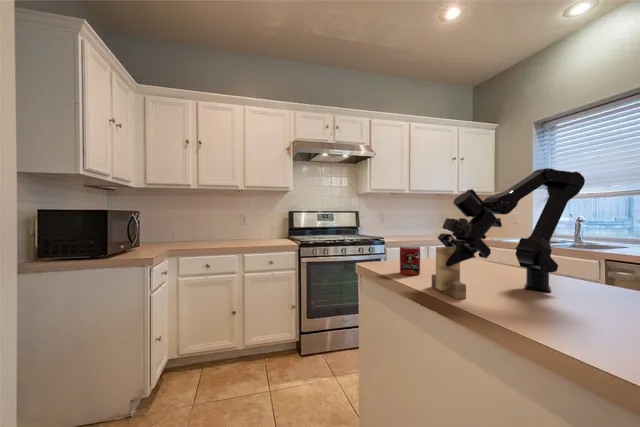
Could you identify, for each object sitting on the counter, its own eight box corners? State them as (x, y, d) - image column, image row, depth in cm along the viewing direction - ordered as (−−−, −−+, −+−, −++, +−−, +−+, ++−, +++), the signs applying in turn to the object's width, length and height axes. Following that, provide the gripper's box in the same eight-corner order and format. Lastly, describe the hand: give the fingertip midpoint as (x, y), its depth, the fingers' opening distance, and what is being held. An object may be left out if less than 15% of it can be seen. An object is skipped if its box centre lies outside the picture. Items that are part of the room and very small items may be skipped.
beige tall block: (453, 286, 88) (454, 246, 88) (459, 289, 85) (460, 247, 85) (435, 287, 88) (435, 246, 87) (441, 290, 85) (441, 248, 84)
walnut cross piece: (431, 286, 93) (431, 274, 93) (440, 286, 93) (440, 274, 93) (456, 299, 80) (456, 284, 80) (465, 298, 80) (466, 284, 80)
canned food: (399, 275, 110) (399, 246, 110) (400, 271, 117) (400, 244, 117) (420, 276, 107) (420, 247, 107) (419, 272, 115) (419, 245, 115)
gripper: (442, 209, 96) (411, 242, 95) (480, 208, 77) (442, 250, 76) (464, 232, 97) (434, 265, 96) (507, 237, 78) (470, 278, 77)
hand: (443, 264), depth 86 cm, fingers closed on beige tall block, 3 cm apart
